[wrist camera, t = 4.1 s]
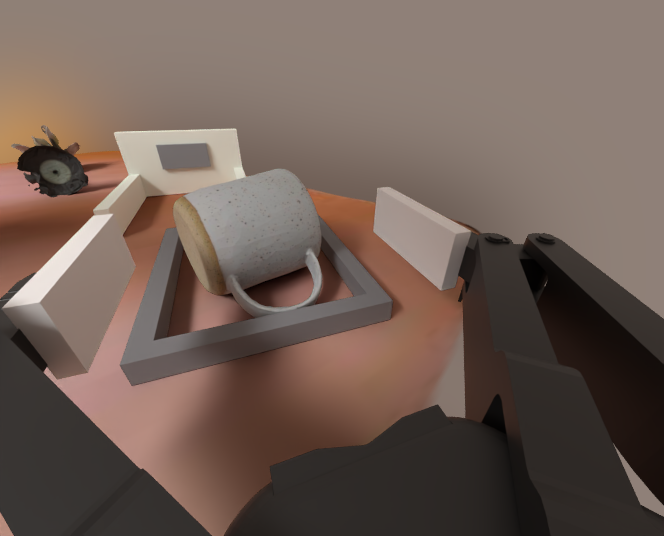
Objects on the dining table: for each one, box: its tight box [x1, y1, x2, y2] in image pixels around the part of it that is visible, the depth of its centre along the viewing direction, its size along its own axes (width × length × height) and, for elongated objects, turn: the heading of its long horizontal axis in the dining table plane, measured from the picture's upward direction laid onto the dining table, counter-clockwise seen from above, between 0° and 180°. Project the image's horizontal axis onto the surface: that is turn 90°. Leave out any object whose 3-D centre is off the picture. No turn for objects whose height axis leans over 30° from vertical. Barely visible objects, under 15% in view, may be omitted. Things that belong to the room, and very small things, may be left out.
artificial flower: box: [12, 125, 88, 197], centre depth 45 cm, size 9×22×10 cm, turn 34°
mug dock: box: [93, 129, 246, 235], centre depth 33 cm, size 14×15×8 cm
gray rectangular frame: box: [120, 214, 393, 386], centre depth 22 cm, size 14×16×2 cm
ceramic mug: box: [173, 169, 322, 318], centre depth 19 cm, size 11×8×8 cm
